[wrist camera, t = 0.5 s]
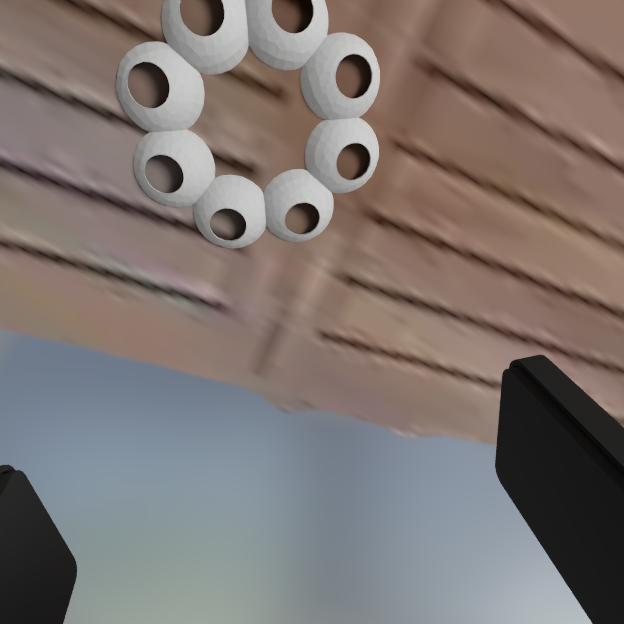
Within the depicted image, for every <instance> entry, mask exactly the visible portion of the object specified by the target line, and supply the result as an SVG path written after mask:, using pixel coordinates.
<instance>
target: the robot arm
mask: <svg viewBox="0 0 624 624" xmlns="http://www.w3.org/2000/svg"><path fill="white" fill-rule="evenodd" d="M495 462H496V463H495V468H496V473H497V476H498V478H499V481H500V483H501V484H502V486H503V487H504V489H505V490H506V492H507V493H508V495H509V497H510V498H511V499H512V501H513V503H514V504H515V506H516V507H517V509H518V510H519V512H520V513H521V515H522V516H523V518H524V519H525V521H526V522H527V524H528V526H529V527H530V529H531V530H532V531H533V533H534V535H535V536H536V538H537V539H538V541H539V542H540V544H541V545H542V547H543V548H544V550H545V551H546V553H547V554H548V556H549V558H550V559H551V561H552V562H553V564H554V565H555V567H556V568H557V570H558V571H559V573H560V574H561V576H562V577H563V579H564V581H565V582H566V584H567V585H568V587H569V588H570V590H571V591H572V593H573V594H574V596H575V597H576V599H577V600H578V602H579V603H580V605H581V607H582V608H583V610H584V611H585V613H586V614H587V616H588V617H589V619H590V620H591V622H592V623H593V624H624V428H623V427H622V426H621V425H620V424H619V423H618V422H617V421H616V420H615V419H614V418H612V417H611V416H610V415H609V414H608V413H607V412H606V411H605V410H604V409H603V408H602V407H600V406H599V405H598V404H597V403H596V402H595V401H594V400H593V399H592V398H591V397H589V396H588V395H587V394H586V393H585V392H584V391H583V390H582V389H581V388H580V387H579V386H577V385H576V384H575V383H574V382H573V381H572V380H571V379H570V378H569V377H568V376H567V375H565V374H564V373H563V372H562V371H561V370H560V369H559V368H558V367H557V366H556V365H555V364H553V363H552V362H551V361H550V360H549V359H548V358H547V357H545V356H544V355H536V356H532V357H527V358H522V359H517V360H514V361H512V362H511V363H510V366H509V369H506V370H504V372H503V375H502V387H501V399H500V411H499V424H498V436H497V449H496V461H495ZM76 576H77V565H76V561H75V558H74V557H73V555H72V553H71V551H70V550H69V548H68V546H67V545H66V543H65V541H64V540H63V538H62V536H61V535H60V533H59V531H58V529H57V528H56V526H55V524H54V523H53V521H52V519H51V517H50V516H49V514H48V512H47V511H46V509H45V507H44V506H43V504H42V502H41V501H40V499H39V497H38V496H37V494H36V492H35V491H34V489H33V487H32V485H31V484H30V482H29V480H28V479H27V477H26V475H25V474H24V473H23V472H22V471H20V470H17V471H15V469H14V468H13V467H11V466H10V465H2V466H0V624H63V622H64V619H65V615H66V612H67V608H68V605H69V602H70V598H71V595H72V591H73V588H74V584H75V581H76Z"/></svg>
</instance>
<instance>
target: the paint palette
mask: <svg viewBox="0 0 624 624" xmlns="http://www.w3.org/2000/svg"><path fill="white" fill-rule="evenodd" d="M221 1H222V3H223V6H224V11H225V12H224V21H223V24H222V26H221V27H220V29H219V30H218V31H217V32H216V33H214V34H212V35H210V36H199V35H196V34H194V33H192V32H191V31H190V30H188V28H187V27H186V26H185V24H184V23H183V21H182V18H181V15H180V3H181V0H164V3H163V6H162V17H161V22H162V28H163V34H164V37H165V39H166V41H167V44H166V43H162V42H146V43H143V44H140V45H138V46H135V47H134V48H133V49H131V50H130V51H129V52H128V53H126V55H125V56H124V58H123V59H122V61H121V62H120V64H119V69H118V73H117V80H116V89H117V93H118V98H119V101H120V103H121V105H122V107H123V109H124V111H125V112H126V113H127V115H128V116H129V117H130V118H131V120H132V121H133V122H135V123H136V124H137V125H138V126H140V127H141V128H142V129H144V130H147V131H149V133H148V134H147V135H145V136H144V137H143V138H142V139H141V141H140V142H139V144H138V145H137V148H136V151H135V154H134V163H133V167H134V172H135V176H136V179H137V180H138V182H139V184H140V186H141V187H142V188H143V190H144V191H145V192H146V194H147V195H148V196H150V197H151V198H152V199H154V200H155V201H157V202H159V203H161V204H163V205H166V206H170V207H177V208H178V207H188V206H190V205H193V204H194V209H193V213H194V219H195V222H196V225H197V227H198V229H199V231H200V232H201V233H202V234H203V235H204V237H205V238H207V239H208V240H209V241H211V242H212V243H213V244H216V245H219V246H222V247H226V248H240V247H244V246H247V245H249V244H251V243H252V242H254V241H255V240H257V239H258V238H259V237H260V235H261V234H262V233H263V232H264V230H265V228H266V226H267V227H268V228H269V230H270V231H271V232H272V233H273V234H275V235H276V236H277V237H279V238H281V239H284V240H286V241H292V242H301V241H306V240H309V239H311V238H313V237H315V236H317V235H318V234H320V233H321V232H322V231H323V230H324V229H325V228H326V226H327V225H328V223H329V221H330V219H331V217H332V213H333V208H334V205H333V196H332V193H331V192H333V193H347V192H350V191H353V190H356V189H358V188H359V187H361V186H362V185H363V184H365V183H366V182H367V180H368V179H369V178H370V177H371V176H372V174H373V172H374V170H375V168H376V165H377V161H378V158H379V146H378V141H377V137H376V135H375V133H374V132H373V130H372V128H371V127H370V126H369V125H368V124H367V123H366V122H365V121H364V120H362V119H360V118H358V117H360V116H361V115H363V114H364V113H365V112H366V111H367V110H368V109H369V107H370V106H371V105H372V103H373V101H374V99H375V97H376V95H377V93H378V88H379V84H380V69H379V66H378V62H377V59H376V57H375V54H374V52H373V50H372V49H371V47H370V46H369V45H368V44H367V43H366V42H365V41H364V40H362V39H361V38H359V37H358V36H356V35H353V34H349V33H333V34H330V35H328V36H327V31H328V11H327V7H326V4H325V0H311V2H312V5H313V17H312V20H311V23H310V24H309V26H308V27H307V28H306V29H305V30H304V31H302V32H300V33H295V34H294V33H288V32H286V31H284V30H282V29H281V28H280V27H279V26H278V25H277V23H276V22H275V20H274V18H273V15H272V11H271V8H272V0H221ZM249 46H250V48H251V49H252V51H253V53H254V54H255V55H256V56H257V57H258V58H259V59H260V60H261V61H262V62H263V63H265V64H267V65H269V66H270V67H272V68H276V69H280V70H295V69H298V68H301V67H302V70H301V75H300V78H301V89H302V93H303V96H304V99H305V101H306V103H307V104H308V106H309V108H310V109H311V110H312V111H313V112H314V113H315V114H316V115H317V116H318V117H320V118H322V119H324V121H322V122H321V123H319V124H318V125H317V126H316V127H315V129H314V130H313V131H312V132H311V134H310V136H309V138H308V141H307V143H306V148H305V164H306V168H307V170H302V169H295V170H289V171H286V172H283V173H281V174H279V175H278V176H277V177H275V178H274V179H272V181H271V182H270V183H269V184H268V186H267V187H266V189H265V191H264V193H263V192H262V191H261V189H260V188H259V187H258V186H257V185H256V184H254V183H253V182H252V181H250V180H248V179H246V178H244V177H242V176H236V175H222V176H219V177H216V178H215V164H214V159H213V157H212V154H211V152H210V149H209V148H208V147H207V145H206V144H205V143H204V141H203V140H202V139H200V138H199V137H198V136H197V135H196V134H194V133H193V132H191V131H189V130H186V129H188V128H189V127H190V126H192V125H193V124H194V123H195V121H196V120H197V118H198V117H199V116H200V113H201V110H202V108H203V104H204V94H205V93H204V86H203V81H202V78H201V76H200V73H203V74H207V75H212V74H221V73H223V72H226V71H229V70H231V69H232V68H233V67H235V66H236V65H237V64H238V63H239V62H240V61H241V60H242V58H243V57H244V56H245V54H246V52H247V49H248V47H249ZM350 54H356V55H360V56H362V57H363V58H364V59H365V60H366V61H367V63H368V64H369V66H370V70H371V82H370V85H369V87H368V89H367V91H366V92H365V93H364V94H363V95H362V96H360V97H358V98H348V97H345V96H344V95H343V94H342V93H341V92H340V91H339V89H338V87H337V85H336V79H335V75H336V70H337V66H338V65H339V63H340V61H341V60H342V59H343V58H344V57H346V56H347V55H350ZM141 62H151V63H153V64H156V65H157V66H158V67H160V68H161V69H162V70H163V72H164V73H165V74H166V76H167V78H168V81H169V89H170V91H169V96H168V98H167V100H166V102H165V103H164V104H163V105H161V106H159V107H157V108H146V107H143V106H141V105H140V104H138V103H137V102H136V101H135V100H134V99H133V97H132V96H131V94H130V91H129V89H128V81H127V79H128V75H129V72H130V71H131V69H132V68H133V67H134V66H135V65H136V64H139V63H141ZM352 143H360V144H362V145H364V146H365V147H366V148H367V150H368V152H369V156H370V161H369V166H368V168H367V170H366V172H365V173H364V174H363V175H362V176H361V177H359V178H357V179H355V180H347V179H344V178H342V177H341V176H340V175H339V173H338V171H337V167H336V161H337V157H338V155H339V153H340V151H341V150H342V149H343V148H344V147H345V146H347V145H349V144H352ZM155 155H166V156H169V157H171V158H173V159H174V160H175V161H176V162H177V163H178V164H179V165H180V167H181V168H182V171H183V176H184V180H183V184H182V185H181V187H180V188H179V189H178V190H177V191H175V192H172V193H163V192H160V191H158V190H156V189H154V188H153V187H152V186H151V185H150V184H149V183H148V181H147V178H146V176H145V166H146V163H147V161H148V160H149V159H150V158H151V157H153V156H155ZM298 203H309V204H312V205H313V206H315V207H316V208H317V210H318V212H319V222H318V224H317V225H316V227H315V228H314V229H313V230H312V231H310V232H308V233H306V234H295V233H293V232H291V231H290V230H288V229H287V227H286V225H285V216H286V213H287V212H288V210H289V209H290V208H291V207H292V206H294V205H296V204H298ZM224 208H228V209H233V210H236V211H238V212H239V213H240V214H241V215H242V216H243V217H244V219H245V221H246V230H245V232H244V234H243V235H242V236H241V237H239V238H238V239H235V240H232V241H231V240H223V239H221V238H218V237H217V236H216V235H215V234H214V233H213V232H212V230H211V228H210V219H211V217H212V215H213V214H214V213H215V212H216V211H218V210H220V209H224Z"/></svg>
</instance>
